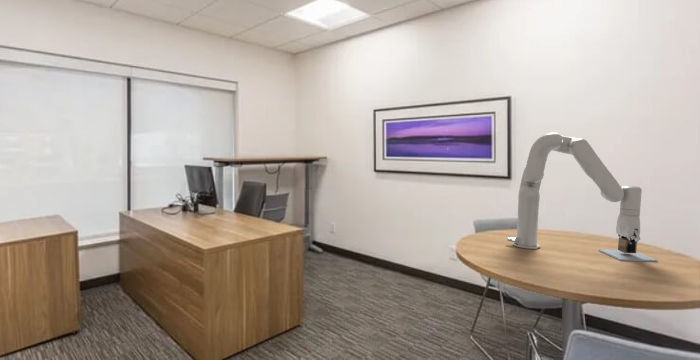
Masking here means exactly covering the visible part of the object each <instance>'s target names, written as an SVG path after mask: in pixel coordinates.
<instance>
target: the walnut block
mask: <svg viewBox="0 0 700 360" xmlns="http://www.w3.org/2000/svg"><path fill="white" fill-rule="evenodd" d="M632 240H633V239H631V241H632ZM628 244H629V240H628V238H619V237H618V243H617V245H618V246H617V250H619V251H621V252H624V253H631V252H627V246H628ZM637 246H638V243H637V244H636V247H635V253H636V252H637V248H638V247H637Z"/></svg>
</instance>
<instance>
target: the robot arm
mask: <svg viewBox="0 0 700 360" xmlns="http://www.w3.org/2000/svg"><path fill="white" fill-rule="evenodd" d="M552 151H553V152H558V153H562V154H568V155H572V156H573V158H574V159H575V160H576V162H577V164H578V165H579V166H580V168H581V169H582V171H583V172H584V173H585V175H587V176H588V177H589V178H590V179H591V180H592V181H593V182H594V184H596V185H597V187H598V188H599V190H600V195H601V197H602V198H603V199H604V200H607V201H609V202H611V203H618V202H619V203H620V205H619V206H620V207H619V214H618V217H617V222H616V228H615V233H616V234H617V236H618V239H619V238H628V240H629V244H628V246H627V252H631V253H635V247H636V244H637V245H638V242H639V241H641V237H640V235H641V219H640V218H641V217H640V216H641V207H642V206H641V205H642V204H641V203H642V188H641V187H640V186H636V185H624V186H623V185H621V184H620V183H619V182H618V180H617V179H616V178H615V177H614V176H613V174H612V172H610V170H609V169H608V168H607V166H606V165H605V164H604V162H603V161H602V160H601V158H600V157H599V155H598V154H597V153H596V152H595V150H594V148H593V147H592V145H591V144H590V143H589V142H588V141H587V140H586V139H585V138H580V137H579V138H576V137H570V136H565V135H561V134H560V133H558V132H550V133H547V134H544V135H542V136H540V137H539V138H537V140H535V141H534V142H533V143H532V145H531V147H530V150H529V152H528V153H529V154H528V158H527V160H526V161H527V162H526V165H525V168H524V169H523V171H522V176H521V180H520V186H519V190H518V195H517V196H518V199H517V200H518V203H517V226H516V229H517V230H516V231H517V232H516V235H514V237H506V242H511V243H512V244H513V246H515V247H517V248H521V249H527V250H534V249H535V250H536V249H540V248H541V244H539V243H538V229H539V228H538V227H539V226H538V225H539V208H540V188H541V184H542V181H543V179H544V176H545V173H544V172H545V168H546V164H547V161H548V156H549V155H550V154H551V153H550V152H552ZM631 239H633V240H632V241H631Z"/></svg>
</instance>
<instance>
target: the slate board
mask: <svg viewBox="0 0 700 360" xmlns="http://www.w3.org/2000/svg"><path fill="white" fill-rule="evenodd" d="M598 252H600V253H601V254H605V255H607V256H609V257H610V258H611V257H612V258H614V260H618V261H620V262H648V263H649V262H652V263H653V262H655V263H658V259H655V258H653V257H650V256H648V255H646V254H643V253H641V252H638V251H636V253H624V252H621V251H619V250H618V249H602V248H601V249H598Z"/></svg>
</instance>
